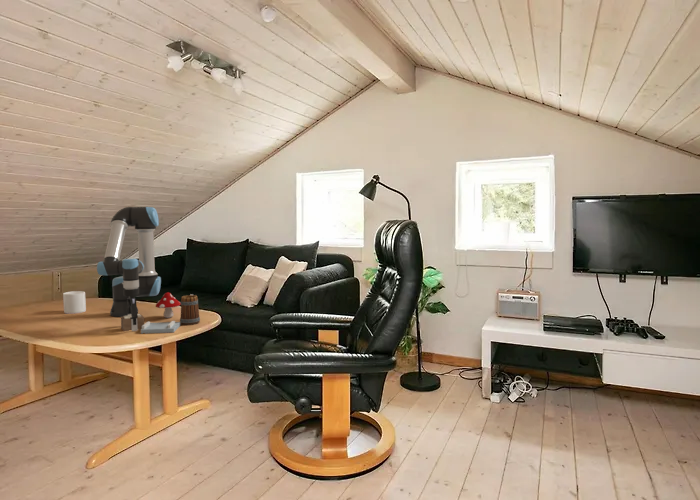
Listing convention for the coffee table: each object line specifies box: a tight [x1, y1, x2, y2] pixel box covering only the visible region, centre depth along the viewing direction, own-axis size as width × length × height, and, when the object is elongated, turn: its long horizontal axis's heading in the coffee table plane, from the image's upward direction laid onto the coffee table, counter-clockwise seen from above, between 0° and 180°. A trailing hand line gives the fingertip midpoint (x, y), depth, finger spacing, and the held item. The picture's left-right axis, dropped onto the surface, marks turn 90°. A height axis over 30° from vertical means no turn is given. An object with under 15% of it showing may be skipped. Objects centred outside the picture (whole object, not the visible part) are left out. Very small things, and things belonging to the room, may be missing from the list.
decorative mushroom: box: [155, 291, 181, 319], centre depth 267 cm, size 14×14×15 cm
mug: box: [179, 293, 201, 326], centre depth 257 cm, size 16×11×15 cm
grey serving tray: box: [140, 320, 181, 335], centre depth 241 cm, size 15×16×4 cm
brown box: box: [120, 313, 145, 332], centre depth 242 cm, size 7×10×7 cm
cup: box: [62, 290, 87, 315], centre depth 284 cm, size 12×12×12 cm
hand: (132, 328), depth 243 cm, fingers open, 12 cm apart
